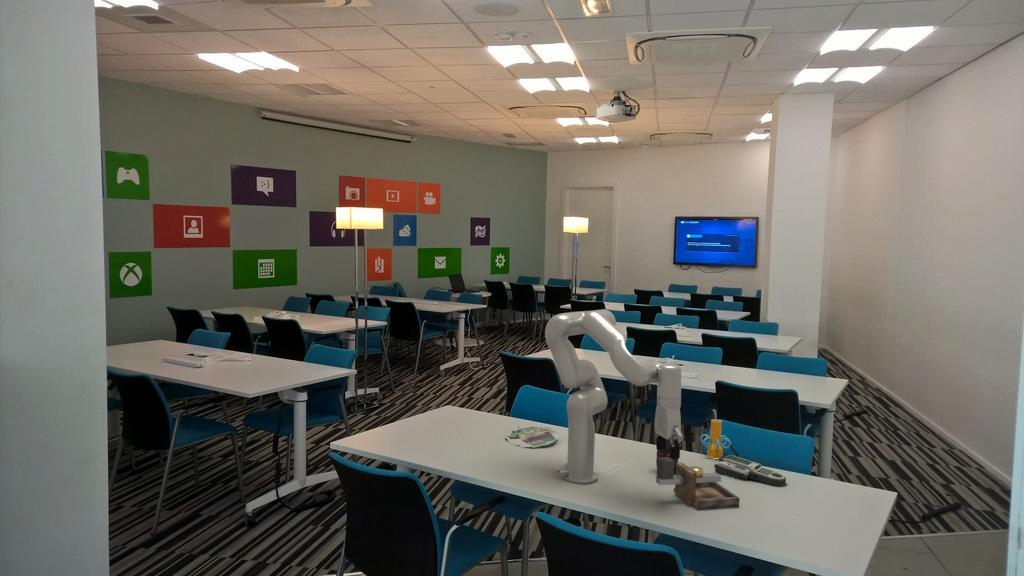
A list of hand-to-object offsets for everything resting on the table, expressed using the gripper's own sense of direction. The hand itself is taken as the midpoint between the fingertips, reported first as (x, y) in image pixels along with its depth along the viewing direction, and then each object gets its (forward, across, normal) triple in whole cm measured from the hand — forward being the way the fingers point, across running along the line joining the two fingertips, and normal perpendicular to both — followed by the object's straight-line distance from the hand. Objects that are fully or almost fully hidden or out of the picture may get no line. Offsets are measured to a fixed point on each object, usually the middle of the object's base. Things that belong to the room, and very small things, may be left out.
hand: (667, 453), depth 207 cm
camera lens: (+16, -26, +13) cm, 33 cm away
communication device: (+17, -17, +42) cm, 49 cm away
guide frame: (+16, -1, +14) cm, 22 cm away
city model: (+15, -72, -27) cm, 78 cm away
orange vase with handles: (+16, -40, +41) cm, 59 cm away
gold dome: (+8, -1, +11) cm, 13 cm away
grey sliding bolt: (+10, -1, +8) cm, 13 cm away
